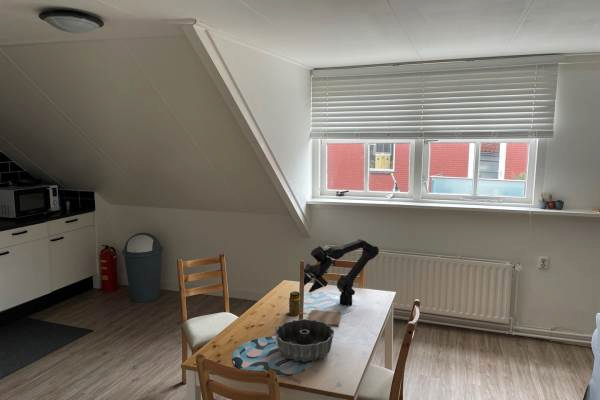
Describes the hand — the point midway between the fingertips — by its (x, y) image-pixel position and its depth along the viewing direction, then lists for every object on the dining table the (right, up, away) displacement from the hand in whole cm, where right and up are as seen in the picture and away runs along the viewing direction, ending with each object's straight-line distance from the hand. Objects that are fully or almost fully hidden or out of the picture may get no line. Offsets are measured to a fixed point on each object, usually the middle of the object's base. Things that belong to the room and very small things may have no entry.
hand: (305, 289), depth 238 cm
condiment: (-6, -14, -1) cm, 15 cm away
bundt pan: (-1, -20, -41) cm, 46 cm away
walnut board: (+10, -14, -7) cm, 19 cm away
